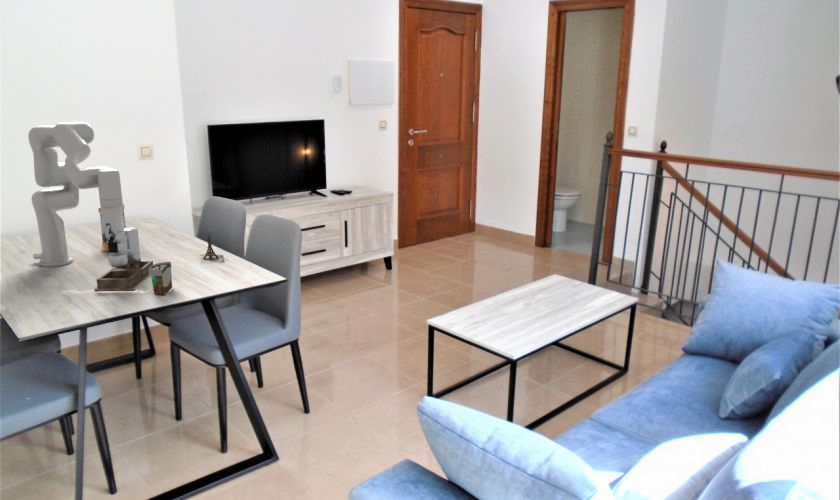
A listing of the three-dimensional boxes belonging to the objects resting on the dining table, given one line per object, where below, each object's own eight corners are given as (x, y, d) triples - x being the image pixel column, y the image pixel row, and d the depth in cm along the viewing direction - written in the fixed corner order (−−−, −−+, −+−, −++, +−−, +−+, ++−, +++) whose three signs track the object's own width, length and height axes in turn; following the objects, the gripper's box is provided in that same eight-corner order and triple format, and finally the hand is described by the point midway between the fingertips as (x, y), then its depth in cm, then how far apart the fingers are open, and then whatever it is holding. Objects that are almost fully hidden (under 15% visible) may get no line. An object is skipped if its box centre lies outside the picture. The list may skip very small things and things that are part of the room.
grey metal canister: (121, 275, 251) (116, 231, 247) (127, 271, 258) (123, 227, 253) (138, 275, 252) (134, 231, 247) (144, 271, 258) (140, 227, 253)
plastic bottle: (121, 269, 237) (115, 216, 232) (105, 268, 238) (98, 215, 233) (132, 264, 243) (126, 213, 238) (116, 263, 244) (110, 212, 239)
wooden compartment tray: (94, 291, 236) (93, 279, 234) (121, 271, 261) (120, 260, 259) (133, 291, 236) (132, 279, 235) (156, 271, 262) (155, 260, 260)
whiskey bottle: (129, 244, 302) (121, 177, 294) (126, 249, 293) (119, 181, 285) (105, 246, 299) (97, 178, 291) (102, 251, 290) (93, 181, 282)
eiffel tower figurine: (225, 263, 276) (223, 233, 272) (200, 265, 272) (198, 235, 269) (222, 254, 289) (220, 226, 286) (199, 256, 286) (197, 227, 283)
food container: (156, 286, 242) (154, 261, 239) (173, 286, 242) (171, 261, 240) (145, 297, 230) (143, 270, 227) (163, 297, 230) (160, 270, 228)
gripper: (110, 198, 242) (115, 245, 247) (90, 207, 226) (96, 256, 230) (130, 198, 243) (135, 244, 247) (112, 207, 226) (118, 256, 231)
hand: (116, 250), depth 239 cm, fingers closed on plastic bottle, 5 cm apart
